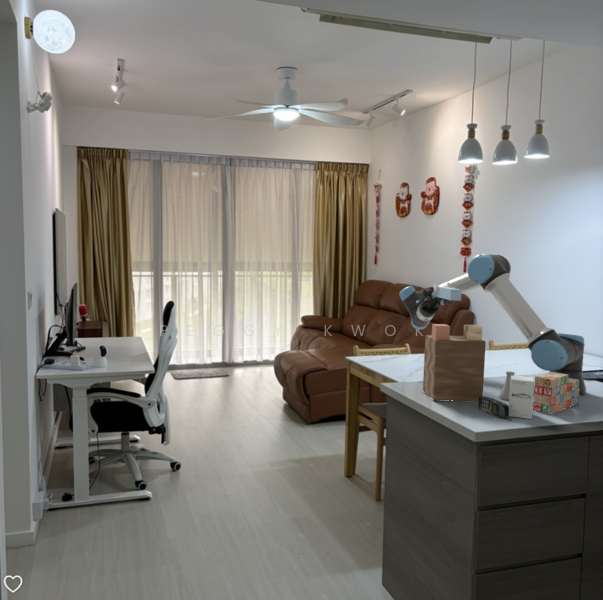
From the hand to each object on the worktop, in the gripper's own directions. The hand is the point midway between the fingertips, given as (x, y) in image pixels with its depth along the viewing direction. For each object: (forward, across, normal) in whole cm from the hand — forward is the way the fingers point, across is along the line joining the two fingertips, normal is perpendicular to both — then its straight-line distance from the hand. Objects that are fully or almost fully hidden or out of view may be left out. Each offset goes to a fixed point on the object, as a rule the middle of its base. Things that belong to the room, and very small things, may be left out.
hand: (442, 285), depth 224 cm
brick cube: (+8, +6, -26) cm, 28 cm away
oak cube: (+7, -6, -26) cm, 27 cm away
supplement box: (+15, -15, -56) cm, 60 cm away
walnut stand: (-5, 0, -44) cm, 44 cm away
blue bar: (+2, 0, -7) cm, 7 cm away
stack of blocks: (+6, -33, -51) cm, 61 cm away
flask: (-4, -21, -45) cm, 50 cm away
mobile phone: (+14, -7, -56) cm, 58 cm away
